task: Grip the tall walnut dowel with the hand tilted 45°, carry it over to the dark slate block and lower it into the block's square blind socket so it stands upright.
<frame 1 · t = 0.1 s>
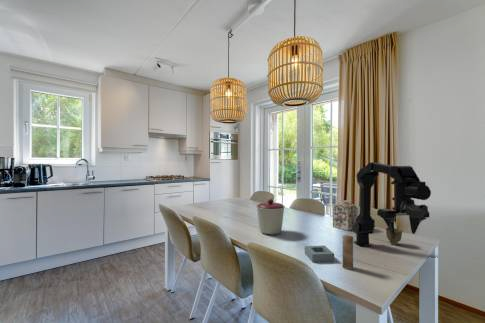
hand: (402, 233, 95), 15 cm above the table, tool pointing down, fingers open, 9 cm apart
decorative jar: (345, 227, 155), on the table
cup: (393, 244, 124), on the table
canister: (270, 232, 145), on the table
walnut dowel: (347, 267, 97), on the table
socket block: (318, 257, 107), on the table
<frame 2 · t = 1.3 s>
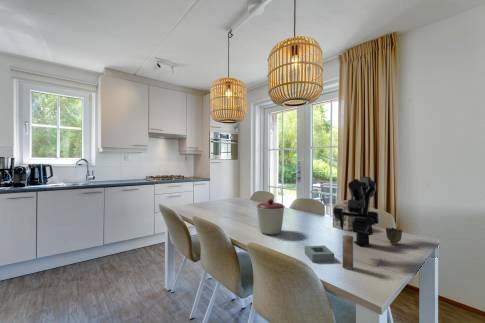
hand: (352, 231, 103), 13 cm above the table, tool tilted 45°, fingers open, 9 cm apart
nothing on the table moved.
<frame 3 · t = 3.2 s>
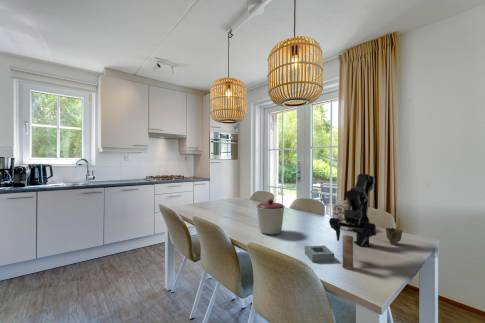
hand: (349, 243, 99), 10 cm above the table, tool tilted 45°, fingers open, 9 cm apart
nothing on the table moved.
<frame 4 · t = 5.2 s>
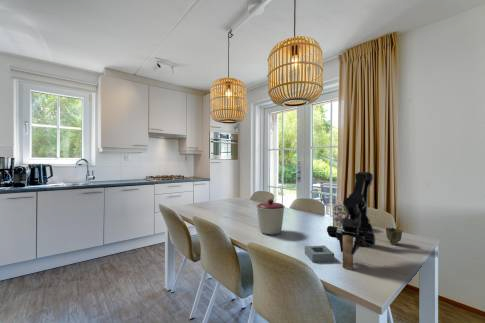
hand: (347, 252, 96), 7 cm above the table, tool tilted 45°, fingers closed on walnut dowel, 4 cm apart
walnut dowel: (347, 267, 97), on the table, touching gripper
everything else where it was.
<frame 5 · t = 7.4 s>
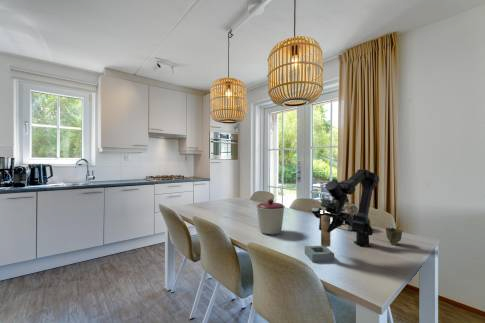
hand: (323, 231, 103), 13 cm above the table, tool tilted 45°, fingers closed on walnut dowel, 4 cm apart
walnut dowel: (325, 245, 104), point 7 cm above the table, touching gripper
everything else where it was.
when the fingers open (8 cm above the table, at t = 9.8 s): walnut dowel stays where it is, resting on socket block.
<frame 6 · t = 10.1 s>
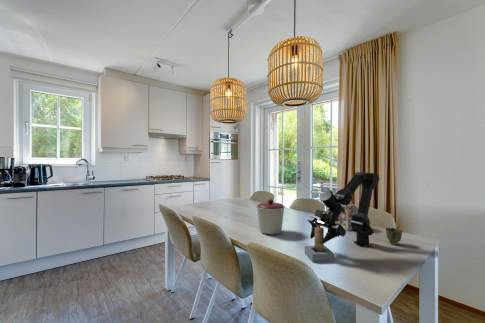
hand: (316, 240, 107), 8 cm above the table, tool tilted 45°, fingers open, 7 cm apart
walnut dowel: (318, 256, 107), point 1 cm above the table, touching socket block
everything else where it was.
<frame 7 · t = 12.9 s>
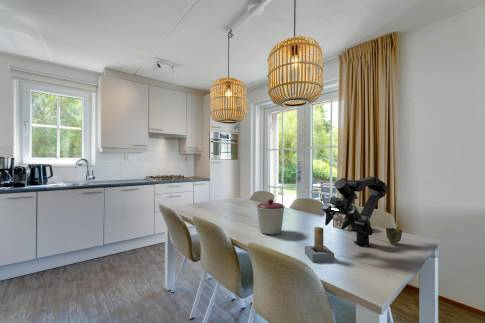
hand: (333, 227, 110), 13 cm above the table, tool tilted 40°, fingers open, 9 cm apart
nothing on the table moved.
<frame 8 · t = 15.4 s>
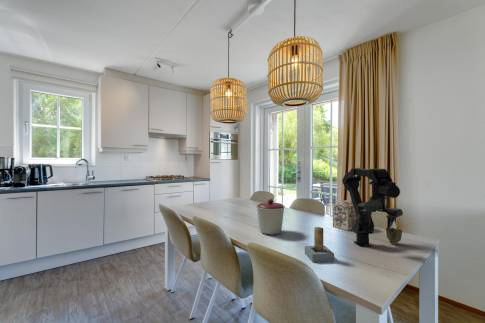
hand: (378, 227, 111), 13 cm above the table, tool pointing down, fingers open, 9 cm apart
nothing on the table moved.
at the end: walnut dowel 0.0 cm off-centre on the socket block, point 0.5 cm above the socket block's base; walnut dowel tilted 0°; the gripper is holding nothing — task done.
